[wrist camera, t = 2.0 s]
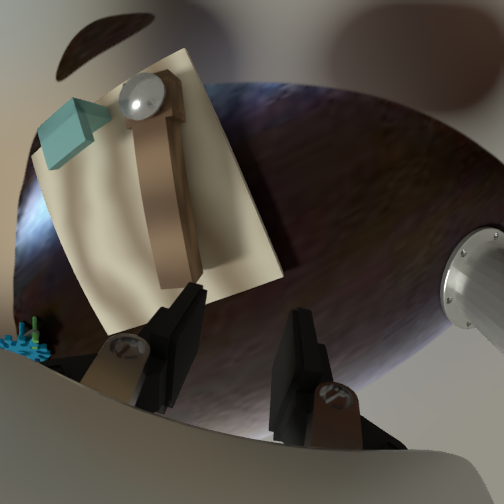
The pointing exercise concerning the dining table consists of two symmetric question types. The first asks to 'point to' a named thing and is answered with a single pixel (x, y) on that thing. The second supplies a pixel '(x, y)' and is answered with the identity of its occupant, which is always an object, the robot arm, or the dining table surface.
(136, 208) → the board
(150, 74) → the disc
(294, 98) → the dining table surface
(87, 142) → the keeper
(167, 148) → the link
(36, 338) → the gear
